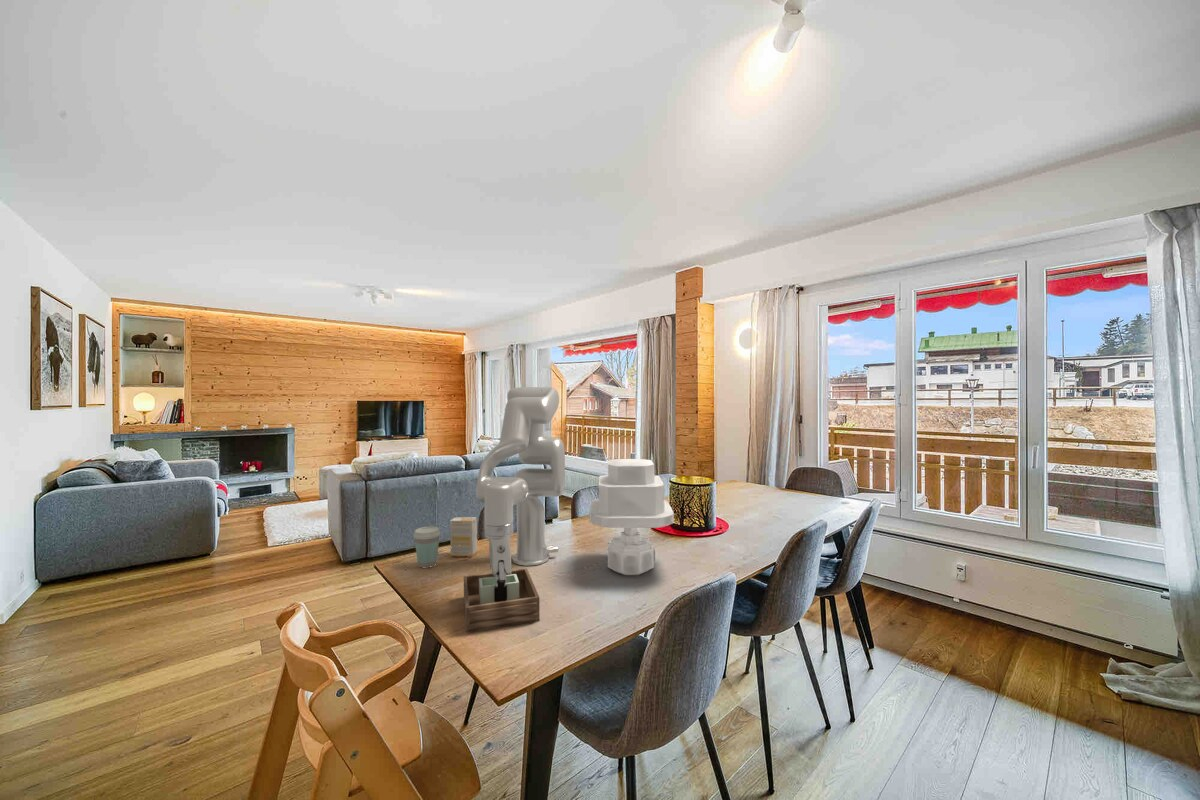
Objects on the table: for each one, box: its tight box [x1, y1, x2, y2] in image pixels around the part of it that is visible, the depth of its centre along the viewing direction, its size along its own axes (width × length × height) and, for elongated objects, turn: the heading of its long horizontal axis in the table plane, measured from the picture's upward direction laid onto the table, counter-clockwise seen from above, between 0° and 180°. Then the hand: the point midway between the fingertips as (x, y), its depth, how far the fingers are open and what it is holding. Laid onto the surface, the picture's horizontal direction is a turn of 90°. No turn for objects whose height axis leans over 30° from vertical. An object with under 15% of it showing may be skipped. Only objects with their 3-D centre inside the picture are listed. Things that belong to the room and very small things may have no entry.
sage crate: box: [479, 574, 519, 604], centre depth 123 cm, size 10×6×5 cm, turn 108°
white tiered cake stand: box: [588, 458, 675, 576], centre depth 151 cm, size 27×27×35 cm
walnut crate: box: [463, 568, 541, 633], centre depth 123 cm, size 18×21×6 cm
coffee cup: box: [413, 526, 441, 568], centre depth 154 cm, size 9×8×12 cm
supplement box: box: [449, 516, 478, 558], centre depth 164 cm, size 8×5×13 cm, turn 84°
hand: (499, 595), depth 123 cm, fingers closed on sage crate, 6 cm apart
